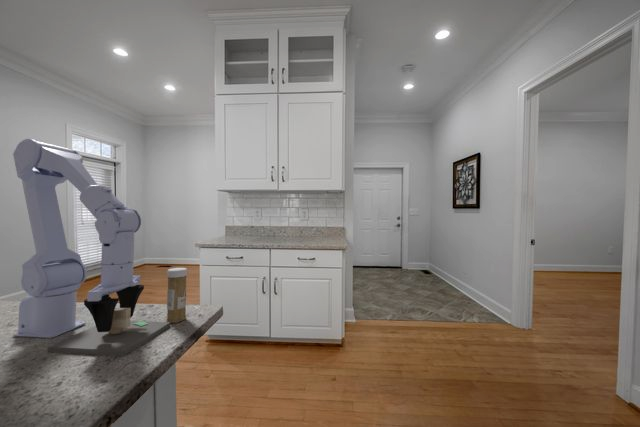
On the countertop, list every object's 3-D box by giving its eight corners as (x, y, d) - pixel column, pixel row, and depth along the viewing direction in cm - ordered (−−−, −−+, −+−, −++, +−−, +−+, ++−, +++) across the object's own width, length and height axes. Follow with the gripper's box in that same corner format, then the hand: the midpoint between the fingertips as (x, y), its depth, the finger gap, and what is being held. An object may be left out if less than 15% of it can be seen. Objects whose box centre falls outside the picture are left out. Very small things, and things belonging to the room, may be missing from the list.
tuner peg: (99, 334, 57) (100, 311, 57) (107, 329, 60) (108, 307, 60) (143, 333, 58) (144, 310, 58) (150, 328, 61) (150, 306, 61)
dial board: (47, 351, 52) (48, 345, 52) (109, 323, 66) (109, 318, 66) (124, 356, 51) (124, 349, 51) (170, 326, 65) (170, 321, 65)
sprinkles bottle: (187, 321, 68) (188, 269, 69) (166, 324, 66) (168, 271, 66) (184, 315, 72) (186, 266, 72) (165, 318, 70) (166, 267, 70)
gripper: (115, 268, 52) (113, 338, 52) (153, 257, 66) (152, 311, 66) (76, 269, 51) (74, 339, 51) (123, 257, 66) (122, 312, 66)
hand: (116, 323), depth 59 cm, fingers open, 7 cm apart
